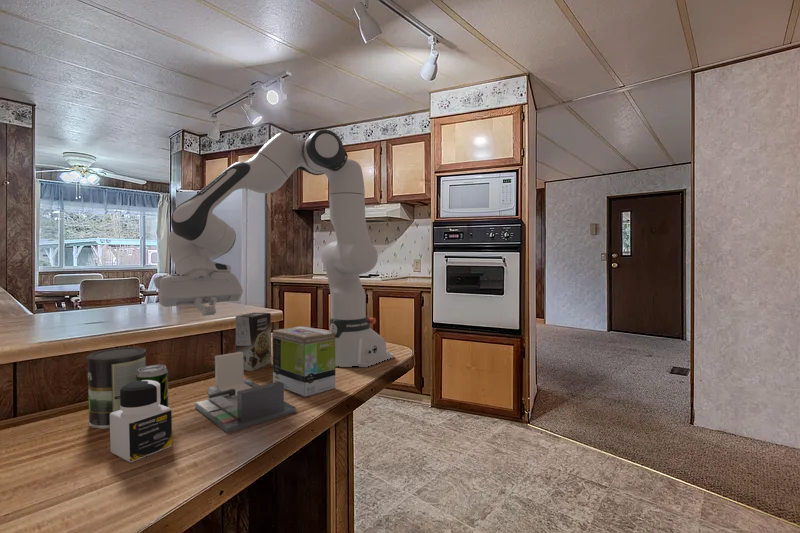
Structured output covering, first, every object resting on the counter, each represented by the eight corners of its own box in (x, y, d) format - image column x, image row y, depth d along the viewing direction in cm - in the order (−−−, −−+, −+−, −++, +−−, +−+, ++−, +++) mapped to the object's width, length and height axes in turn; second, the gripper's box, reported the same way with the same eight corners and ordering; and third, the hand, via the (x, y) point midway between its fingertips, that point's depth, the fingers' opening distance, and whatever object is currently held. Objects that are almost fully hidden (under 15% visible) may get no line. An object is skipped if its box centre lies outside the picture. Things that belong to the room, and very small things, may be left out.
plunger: (241, 391, 100) (240, 351, 100) (257, 400, 94) (257, 358, 93) (196, 401, 93) (195, 359, 93) (211, 413, 87) (210, 367, 86)
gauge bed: (258, 392, 103) (258, 364, 103) (296, 411, 90) (295, 380, 90) (195, 408, 93) (194, 377, 93) (227, 433, 80) (226, 397, 80)
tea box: (337, 388, 106) (336, 331, 106) (304, 398, 99) (303, 337, 98) (303, 376, 117) (303, 324, 116) (271, 384, 109) (270, 329, 109)
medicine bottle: (130, 463, 68) (128, 392, 68) (109, 452, 72) (108, 385, 72) (173, 446, 75) (171, 381, 74) (152, 437, 78) (150, 374, 78)
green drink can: (137, 435, 79) (136, 373, 78) (137, 425, 83) (135, 367, 83) (170, 429, 82) (168, 369, 81) (167, 419, 86) (166, 363, 86)
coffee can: (81, 432, 80) (79, 361, 80) (96, 413, 90) (94, 349, 89) (143, 424, 84) (141, 355, 84) (151, 406, 94) (149, 345, 93)
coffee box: (253, 371, 121) (252, 316, 120) (235, 369, 123) (234, 315, 122) (272, 363, 130) (271, 312, 129) (255, 361, 132) (254, 311, 131)
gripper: (154, 267, 103) (166, 310, 96) (235, 265, 117) (251, 302, 111) (150, 284, 106) (161, 326, 100) (229, 280, 121) (244, 317, 114)
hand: (209, 313), depth 105 cm, fingers closed
